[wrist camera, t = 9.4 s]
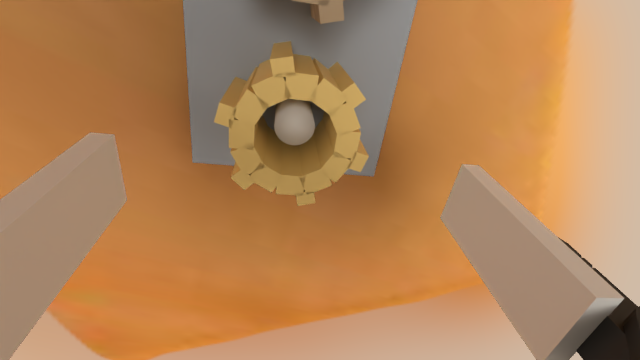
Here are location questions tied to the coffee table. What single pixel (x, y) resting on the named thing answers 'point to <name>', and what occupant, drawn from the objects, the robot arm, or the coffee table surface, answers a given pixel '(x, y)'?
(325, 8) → the gear
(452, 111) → the coffee table surface
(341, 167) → the ochre gear
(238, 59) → the gear board
